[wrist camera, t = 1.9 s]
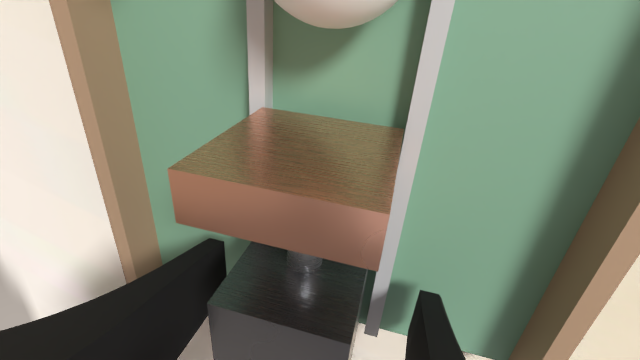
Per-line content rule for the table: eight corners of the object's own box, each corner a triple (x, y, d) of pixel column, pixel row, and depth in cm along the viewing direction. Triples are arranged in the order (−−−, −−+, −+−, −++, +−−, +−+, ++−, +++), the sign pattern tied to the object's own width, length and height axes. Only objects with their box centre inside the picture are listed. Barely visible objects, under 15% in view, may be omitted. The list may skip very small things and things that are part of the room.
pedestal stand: (363, 330, 14) (337, 471, 10) (270, 304, 14) (208, 424, 10) (405, 122, 9) (389, 215, 5) (270, 101, 10) (167, 168, 6)
